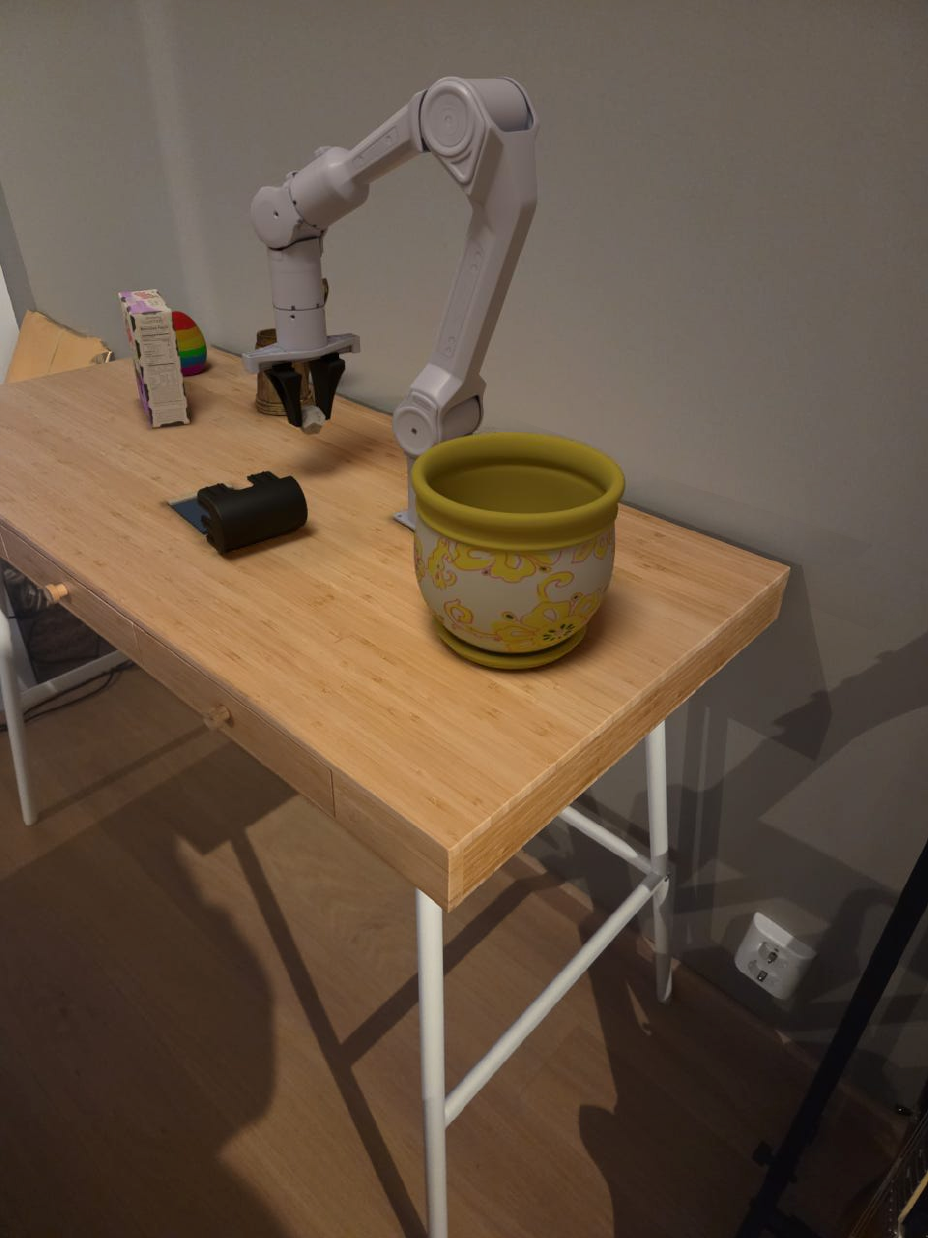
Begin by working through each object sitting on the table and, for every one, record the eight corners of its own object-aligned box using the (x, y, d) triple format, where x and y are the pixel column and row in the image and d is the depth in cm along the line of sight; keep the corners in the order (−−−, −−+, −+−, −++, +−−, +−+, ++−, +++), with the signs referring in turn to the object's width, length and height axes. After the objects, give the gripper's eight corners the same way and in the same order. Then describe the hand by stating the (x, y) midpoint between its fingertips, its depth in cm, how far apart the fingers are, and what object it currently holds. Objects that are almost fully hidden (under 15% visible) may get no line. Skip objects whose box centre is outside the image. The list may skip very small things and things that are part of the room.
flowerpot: (641, 628, 79) (667, 468, 70) (524, 718, 68) (537, 541, 59) (497, 564, 89) (503, 416, 80) (374, 633, 78) (365, 471, 69)
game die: (291, 431, 102) (288, 407, 100) (317, 424, 104) (315, 401, 102) (305, 439, 100) (303, 415, 98) (332, 432, 102) (330, 408, 100)
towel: (266, 514, 98) (266, 509, 98) (203, 534, 94) (202, 529, 94) (228, 487, 105) (227, 481, 104) (167, 504, 100) (166, 499, 100)
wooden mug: (349, 402, 131) (341, 282, 121) (270, 419, 125) (255, 293, 115) (322, 387, 137) (313, 272, 127) (246, 403, 130) (229, 282, 121)
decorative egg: (197, 361, 148) (187, 303, 143) (218, 372, 143) (209, 312, 138) (153, 370, 144) (141, 310, 138) (173, 381, 139) (161, 320, 133)
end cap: (229, 566, 88) (219, 509, 84) (201, 541, 93) (190, 485, 89) (311, 539, 93) (306, 484, 89) (281, 516, 98) (274, 463, 94)
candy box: (139, 400, 131) (116, 290, 122) (177, 395, 133) (158, 287, 124) (151, 429, 121) (127, 312, 112) (192, 423, 123) (172, 308, 114)
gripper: (334, 289, 100) (342, 400, 107) (223, 307, 92) (240, 424, 100) (367, 300, 95) (373, 415, 103) (253, 319, 88) (268, 442, 95)
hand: (310, 421), depth 101 cm, fingers closed on game die, 3 cm apart
